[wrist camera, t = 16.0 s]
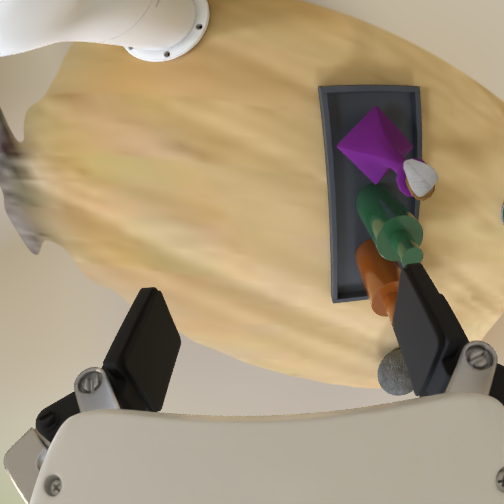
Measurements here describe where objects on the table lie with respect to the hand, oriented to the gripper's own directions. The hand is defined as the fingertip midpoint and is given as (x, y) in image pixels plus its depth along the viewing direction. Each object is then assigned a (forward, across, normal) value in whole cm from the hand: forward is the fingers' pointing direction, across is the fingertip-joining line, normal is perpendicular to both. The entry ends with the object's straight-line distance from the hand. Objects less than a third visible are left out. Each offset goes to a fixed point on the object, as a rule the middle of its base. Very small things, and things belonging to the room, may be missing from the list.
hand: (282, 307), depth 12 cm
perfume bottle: (+32, -12, +1) cm, 34 cm away
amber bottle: (+32, -13, +19) cm, 39 cm away
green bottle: (+32, -13, +10) cm, 36 cm away
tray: (+32, -13, +10) cm, 36 cm away
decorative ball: (+32, -21, +46) cm, 60 cm away
